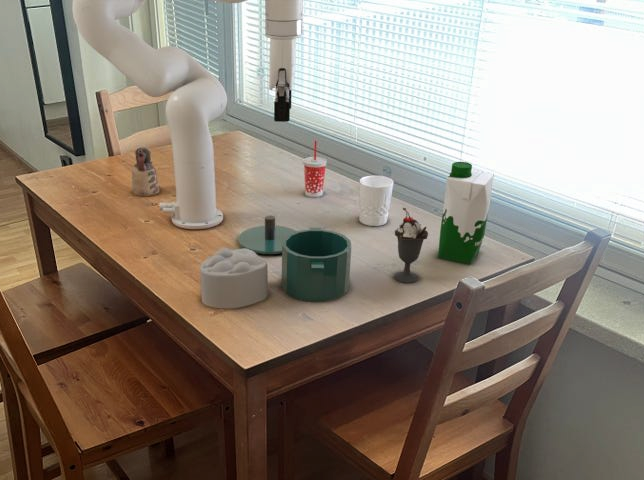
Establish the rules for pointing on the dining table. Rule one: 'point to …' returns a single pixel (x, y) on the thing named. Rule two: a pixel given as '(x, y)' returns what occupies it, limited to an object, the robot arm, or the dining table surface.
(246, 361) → the dining table surface
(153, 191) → the figurine
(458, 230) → the milk carton
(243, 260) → the lumpy-topped squat cylinder
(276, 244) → the lid
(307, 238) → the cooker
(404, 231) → the sundae
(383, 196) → the white cup
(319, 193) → the beverage cup
